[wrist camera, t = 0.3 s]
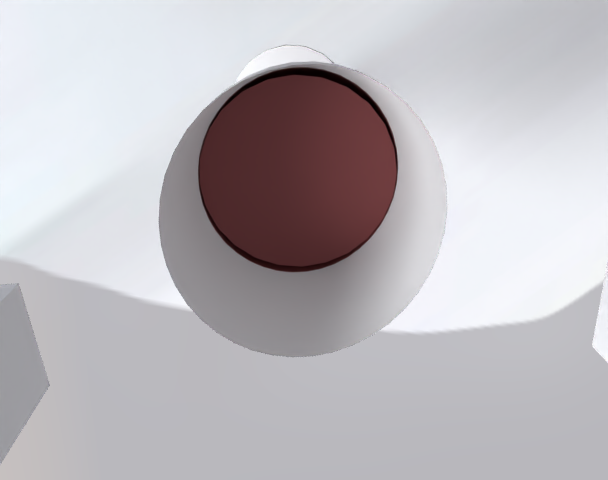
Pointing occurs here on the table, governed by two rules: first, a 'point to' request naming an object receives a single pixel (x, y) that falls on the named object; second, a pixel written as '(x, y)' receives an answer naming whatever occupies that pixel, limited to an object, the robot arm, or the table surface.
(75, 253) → the table surface
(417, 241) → the wineglass
